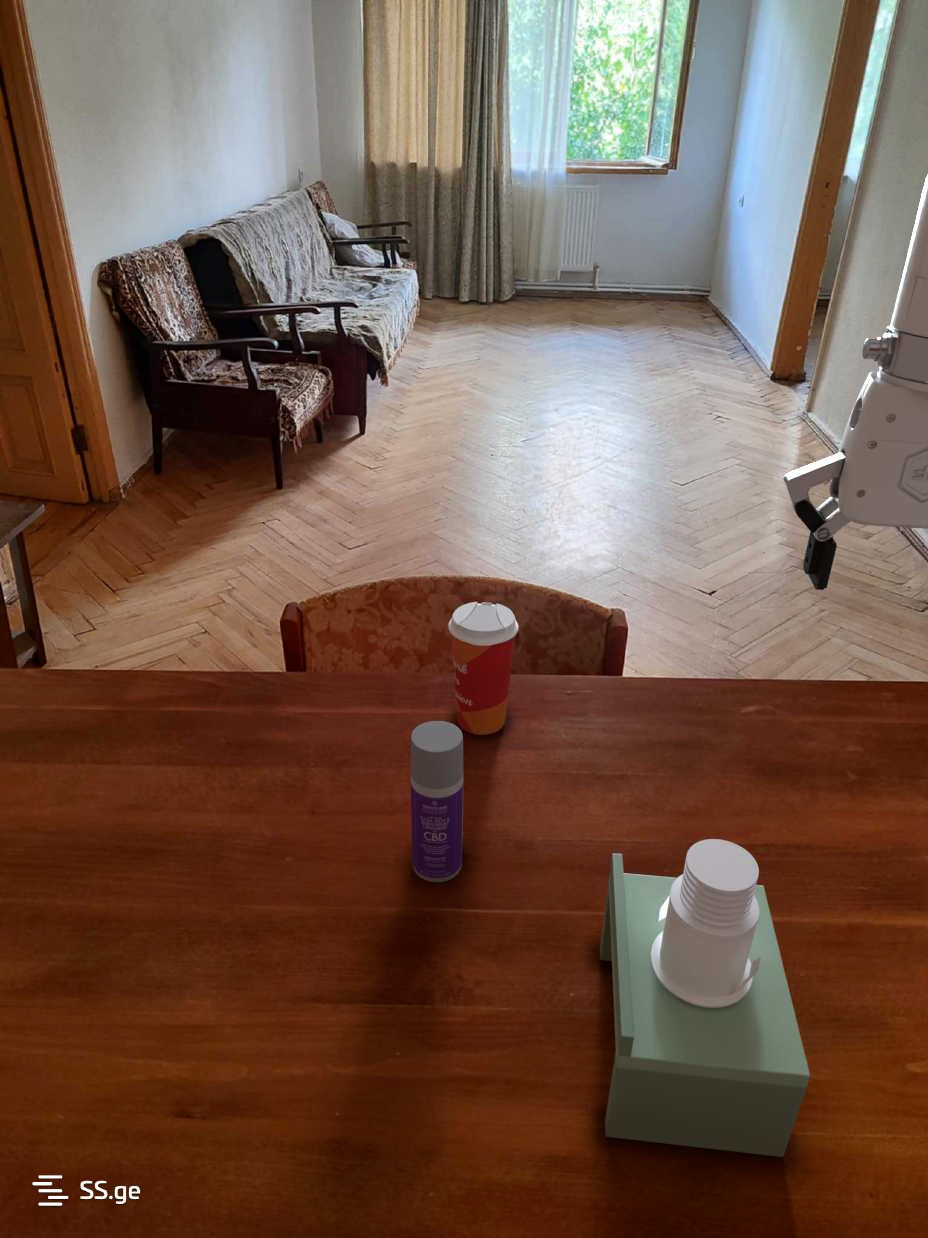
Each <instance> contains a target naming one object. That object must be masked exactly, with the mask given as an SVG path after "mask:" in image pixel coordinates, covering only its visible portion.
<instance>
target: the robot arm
mask: <svg viewBox="0 0 928 1238" xmlns="http://www.w3.org/2000/svg"><path fill="white" fill-rule="evenodd" d="M861 354H862V355H861V356H862V359H863V360H873V361H874V362H875V363H877V365H878V366H879V369H878V370H871V371H870V372H869V373H868V375H867V377H866V379H865V381H864V383H863V385H862V388H861V389H860V392H859V394H858V396H857V398H856V401H855V403H854V405H853V408H852V410H851V413H850V415H849V418H848V421H847V423H846V426H845V429H844V432H843V436H842V438H841V441H840V445H839V448H838V451H837V453H836V454H833V455H831V456H828V457H825V458H823V459H820V460H818V461H816V462H813V463H810V464H808V465H805V466H802V467H800V468H797V469H795V470H792V471H790V472H788V473H786V474H785V475H784V476H783V483H784V486H785V490H786V492H787V495H788V498H789V500H790V503H791V507H792V509H793V510H794V512H795V514H796V515H797V517H798V518H799V520H800V521H801V522H802V523H803V525H804V526H805V527H806V528H807V529H808V530H809V536H808V540H807V544H806V549H805V552H804V553H805V554H804V558H803V562H802V563H803V565H802V568H803V572H804V574H805V575H808V577H809V580H810V581H811V584H812V585H813V587H814V589H815V590H816V591H824V590H825V589H827V588H828V584H829V580H830V576H831V572H832V568H833V564H834V559H835V555H836V551H837V542H836V541H835V539H834V536H835V535H836V534H838V533H839V532H840V531H841V530H842V529H844V528H845V527H846V526H848V525H849V524H850V523H851V522H852V523H855V524H857V525H864V526H873V527H874V526H875V527H889V528H890V527H891V528H909V529H925V530H926V529H927V530H928V175H927V176H926V178H925V182H924V186H923V189H922V193H921V197H920V202H919V205H918V210H917V214H916V217H915V222H914V226H913V230H912V235H911V239H910V242H909V247H908V251H907V255H906V259H905V264H904V268H903V272H902V276H901V280H900V284H899V288H898V291H897V296H896V299H895V304H894V308H893V313H892V316H891V321H890V325H888V326H886V328H885V331H884V333H883V335H882V336H878V337H877V338H866V339H865V341H864V342H863V346H862V351H861ZM829 481H830V483H829V496H830V497H829V498H828V499H827V500H825V501H824V502H823V503H821V505H819V506H818V507H817V508H816V507H815V505H814V504H813V503H812V501H811V499H810V496H809V491H810V490H811V489H812V488H813V487H817V486H818V485H821V484H824V483H826V482H829Z"/></svg>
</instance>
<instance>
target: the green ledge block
mask: <svg viewBox="0 0 928 1238" xmlns="http://www.w3.org/2000/svg"><path fill="white" fill-rule="evenodd" d="M623 859H624V857H623V854H622V853H612V854H611V860H610V868H609V876H608V882H607V883H608V884H607V891H606V899H605V906H604V914H603V920H602V921H603V923H602V930H601V937H600V944H599V945H600V946H599V959H600V961H606V962H611V971H612V993H613V995H612V997H613V1016H614V1040H615V1041H614V1042H615V1054H614V1060H613V1067H612V1072H611V1073H612V1074H611V1079H610V1080H611V1081H610V1087H609V1093H608V1100H607V1105H606V1111H605V1117H604V1118H605V1119H604V1126H605V1127H604V1128H605V1129H604V1130H605V1133H604V1134H605V1137H606V1138H613V1139H622V1140H630V1141H632V1140H633V1141H641V1142H648V1143H649V1142H650V1143H657V1144H659V1143H660V1144H666V1145H674V1146H675V1145H676V1146H682V1147H691V1148H692V1147H693V1148H701V1149H708V1150H709V1149H710V1150H717V1151H726V1152H736V1153H745V1154H753V1155H761V1156H771V1157H778V1158H779V1157H780V1158H783V1157H784V1156H785V1153H786V1150H787V1147H788V1144H789V1141H790V1139H791V1135H792V1132H793V1129H794V1126H795V1124H796V1121H797V1118H798V1114H799V1113H800V1109H801V1106H802V1102H803V1100H804V1097H805V1094H806V1091H807V1087H808V1084H809V1082H810V1079H811V1074H810V1070H809V1065H808V1060H807V1058H806V1053H805V1048H804V1044H803V1041H802V1036H801V1033H800V1029H799V1024H798V1021H797V1016H796V1012H795V1008H794V1003H793V1000H792V996H791V991H790V988H789V983H788V980H787V975H786V972H785V967H784V963H783V959H782V955H781V951H780V946H779V943H778V938H777V935H776V931H775V927H774V922H773V918H772V913H771V910H770V906H769V902H768V898H767V894H766V890H765V886H764V885H760V884H756V887H755V892H754V895H755V897H756V899H757V901H758V904H759V917H758V921H757V925H756V929H755V933H754V937H753V941H752V945H751V949H750V953H749V960H750V962H751V964H752V961H754V960H755V959H757V958H758V957H760V956H761V960H760V965H759V970H758V971H757V972H756V974H755V975H754V976H753V979H752V983H751V986H750V989H749V991H748V992H747V994H746V995H745V996H744V997H743V998H742V999H741V1000H739V1001H738V1002H736V1003H734V1004H732V1005H729V1006H725V1007H719V1008H707V1007H701V1006H697V1005H693V1004H690V1003H688V1002H685V1001H683V1000H681V999H680V998H678V997H676V996H675V995H673V994H672V993H671V992H669V991H668V990H667V989H666V988H665V987H664V986H663V985H662V984H661V982H660V981H659V980H658V978H657V977H656V975H655V973H654V970H653V968H652V964H651V949H652V945H653V943H654V941H655V939H656V937H657V936H658V935H659V934H660V933H661V932H662V931H664V925H665V919H666V917H665V918H663V919H662V920H660V921H658V917H659V909H660V906H661V905H662V904H663V902H664V901H665V899H666V898H667V896H668V895H669V893H670V890H671V887H672V884H673V883H674V881H675V880H676V879H677V878H678V877H671V876H659V875H649V874H636V873H625V871H624V860H623Z"/></svg>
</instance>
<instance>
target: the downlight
mask: <svg viewBox="0 0 928 1238" xmlns="http://www.w3.org/2000/svg"><path fill="white" fill-rule="evenodd" d="M759 874H760V869H759V865H758V863H757V860H756V859H755V857H754V856H753V855H752V853H750V852H749V851H748V850H747V849H746V848H744V847H742V846H741V845H738V844H737V843H735V842H732V841H729V840H725V839H719V838H708V839H703V840H699V841H697V842H695V843H693V845H691V846H690V847H689V849H688V850H687V853H686V856H685V861H684V867H683V872H682V874H681V875H678V877H676V878H677V879H676V880H675V881H674V883H673V884H672V887H671V890H670V893H669V895H668V896H667V898H666V899H665V901H664V902H663V904H662V905H661V906H660V909H659V917H658V921H660V920H662V919H663V918H665V917H666V919H665V925H664V931H662V932H661V933H660V934H659V935H658V936H657V937H656V939H655V941H654V943H653V945H652V949H651V964H652V968H653V970H654V973H655V975H656V977H657V978H658V980H659V981H660V982H661V984H662V985H663V986H664V987H665V988H666V989H667V990H668V991H669V992H671V993H672V994H673V995H675V996H676V997H678V998H680V999H681V1000H683V1001H685V1002H688V1003H690V1004H693V1005H697V1006H701V1007H707V1008H719V1007H725V1006H729V1005H732V1004H734V1003H736V1002H738V1001H739V1000H741V999H742V998H743V997H744V996H745V995H746V994H747V992H748V991H749V989H750V986H751V983H752V979H753V976H754V975H755V974H756V972H757V971H758V970H759V965H760V960H761V956H760V957H758V958H757V959H755V960H754V961H752V964H751V962H750V960H749V953H750V949H751V945H752V941H753V937H754V933H755V929H756V925H757V921H758V917H759V904H758V901H757V899H756V897H755V895H754V892H755V887H756V885H757V883H758V879H759Z"/></svg>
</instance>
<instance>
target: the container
mask: <svg viewBox="0 0 928 1238" xmlns="http://www.w3.org/2000/svg"><path fill="white" fill-rule="evenodd" d="M463 737H464V736H463V732H462V730H461V729H460V728H459V727H458V726H457V725H455V724H454V723H451V722H449V721H444V720H431V721H426V722H423V723H421V724H419V725H417V726H416V727H415V728H414V729H413V730H412V732H411V735H410V816H411V817H410V818H411V821H410V823H411V855H412V856H411V858H412V868H413V871H414V873H415V874H416V875H417V876H418V877H419V878H420V879H422V880H424V881H427V882H431V883H443V882H447V881H450V880H451V879H453V878H455V877H456V876H457V875H458V874H459V873H460V871H461V869H462V867H463V833H464V832H463V830H464V829H463V828H464V739H463Z"/></svg>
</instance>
